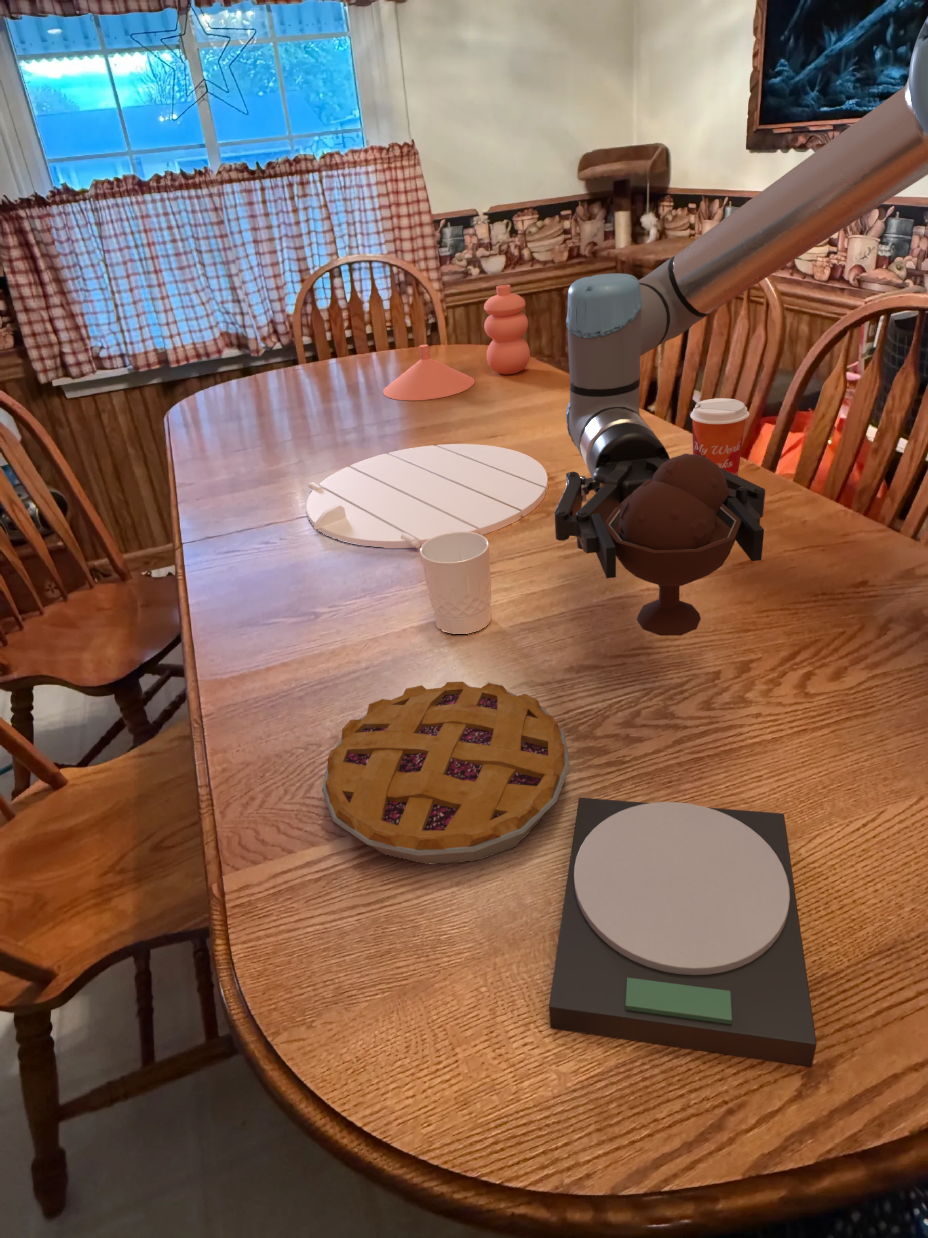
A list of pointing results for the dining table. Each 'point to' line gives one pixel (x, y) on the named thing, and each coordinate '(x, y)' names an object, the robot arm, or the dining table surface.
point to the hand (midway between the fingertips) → (684, 554)
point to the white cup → (458, 580)
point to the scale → (683, 932)
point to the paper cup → (719, 431)
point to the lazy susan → (426, 494)
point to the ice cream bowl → (674, 536)
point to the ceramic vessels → (502, 354)
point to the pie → (446, 772)
